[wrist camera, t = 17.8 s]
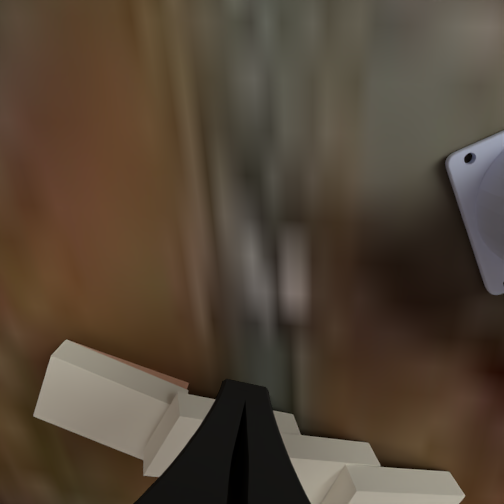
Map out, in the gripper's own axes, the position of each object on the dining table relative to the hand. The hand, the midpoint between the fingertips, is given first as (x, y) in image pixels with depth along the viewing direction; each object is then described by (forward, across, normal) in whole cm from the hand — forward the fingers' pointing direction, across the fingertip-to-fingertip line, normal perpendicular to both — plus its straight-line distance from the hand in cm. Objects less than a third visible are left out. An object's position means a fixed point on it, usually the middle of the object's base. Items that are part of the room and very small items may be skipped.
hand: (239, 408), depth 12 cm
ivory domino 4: (+10, -15, +13) cm, 22 cm away
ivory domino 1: (+9, +3, +11) cm, 14 cm away
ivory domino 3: (+10, -9, +13) cm, 18 cm away
